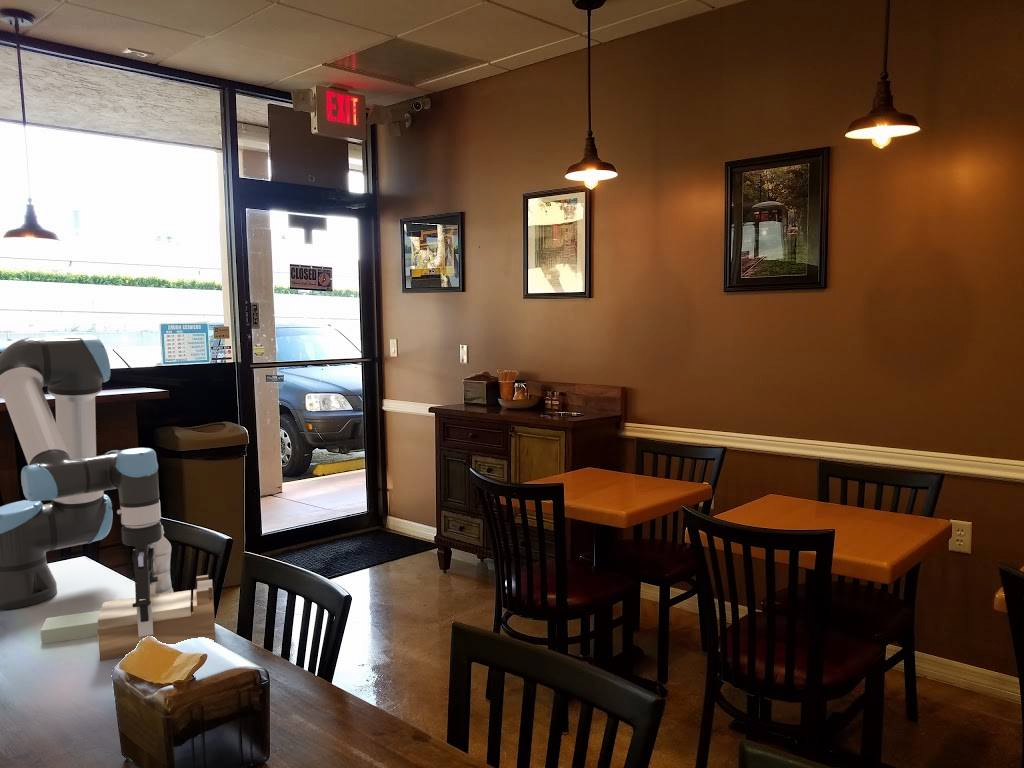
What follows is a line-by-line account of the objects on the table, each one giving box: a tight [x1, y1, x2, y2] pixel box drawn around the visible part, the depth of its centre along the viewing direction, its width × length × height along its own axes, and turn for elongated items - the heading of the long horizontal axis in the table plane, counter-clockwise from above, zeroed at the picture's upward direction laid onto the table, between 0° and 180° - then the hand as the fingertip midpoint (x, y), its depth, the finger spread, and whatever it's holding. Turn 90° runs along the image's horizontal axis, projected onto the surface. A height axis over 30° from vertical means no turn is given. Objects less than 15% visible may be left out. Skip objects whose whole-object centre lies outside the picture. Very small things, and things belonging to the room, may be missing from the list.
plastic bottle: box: [151, 524, 174, 595], centre depth 183 cm, size 6×7×20 cm
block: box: [196, 578, 214, 599], centre depth 168 cm, size 5×3×2 cm, turn 22°
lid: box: [98, 589, 192, 629], centre depth 164 cm, size 10×17×2 cm, turn 112°
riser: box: [40, 610, 101, 645], centre depth 172 cm, size 7×13×3 cm, turn 112°
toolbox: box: [97, 574, 216, 661], centre depth 165 cm, size 10×22×12 cm, turn 112°
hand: (147, 623), depth 165 cm, fingers open, 11 cm apart
